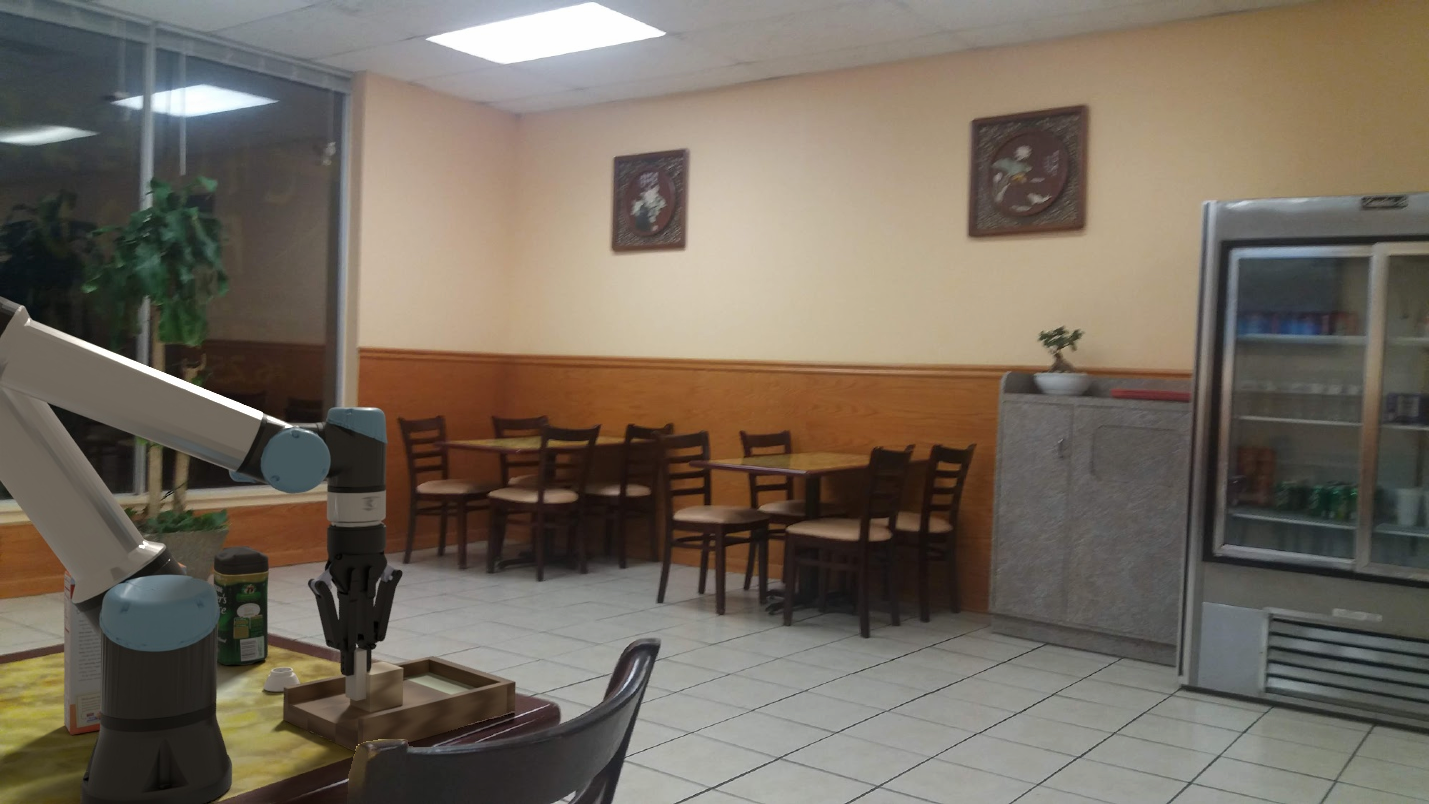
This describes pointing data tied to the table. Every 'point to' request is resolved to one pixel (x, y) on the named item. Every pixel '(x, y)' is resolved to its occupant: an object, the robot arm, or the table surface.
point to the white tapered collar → (280, 679)
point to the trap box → (429, 706)
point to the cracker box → (81, 667)
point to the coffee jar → (241, 605)
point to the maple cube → (382, 687)
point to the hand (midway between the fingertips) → (355, 697)
